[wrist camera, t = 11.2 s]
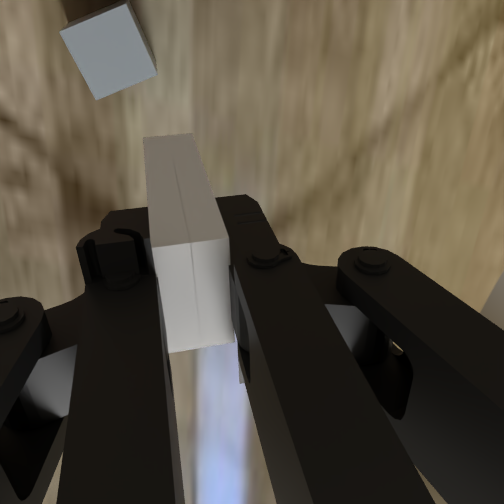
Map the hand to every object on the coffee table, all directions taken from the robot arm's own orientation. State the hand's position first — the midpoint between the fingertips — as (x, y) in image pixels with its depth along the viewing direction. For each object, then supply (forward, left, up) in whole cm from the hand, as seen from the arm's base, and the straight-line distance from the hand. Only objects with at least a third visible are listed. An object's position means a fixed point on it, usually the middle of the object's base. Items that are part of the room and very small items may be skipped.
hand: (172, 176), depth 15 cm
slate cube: (-3, 0, -23) cm, 23 cm away
